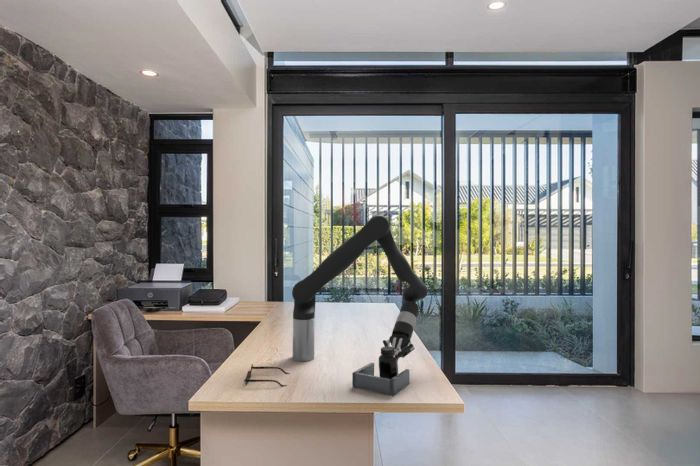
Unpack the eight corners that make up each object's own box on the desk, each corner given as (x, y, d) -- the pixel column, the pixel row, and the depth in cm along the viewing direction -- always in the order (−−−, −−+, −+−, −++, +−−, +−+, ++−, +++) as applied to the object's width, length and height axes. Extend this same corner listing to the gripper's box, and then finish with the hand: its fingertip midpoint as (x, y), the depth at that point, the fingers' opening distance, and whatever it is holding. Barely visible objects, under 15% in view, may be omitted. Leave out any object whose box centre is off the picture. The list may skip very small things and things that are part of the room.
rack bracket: (371, 375, 159) (371, 362, 159) (409, 383, 152) (409, 369, 152) (352, 387, 147) (352, 372, 147) (392, 396, 140) (392, 380, 140)
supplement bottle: (396, 376, 157) (395, 344, 156) (400, 384, 150) (398, 350, 149) (378, 377, 157) (377, 345, 156) (380, 385, 150) (379, 351, 149)
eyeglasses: (250, 374, 161) (251, 361, 161) (290, 374, 162) (290, 361, 162) (244, 388, 146) (244, 374, 146) (287, 388, 147) (287, 373, 147)
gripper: (386, 318, 167) (372, 357, 157) (417, 322, 161) (405, 363, 150) (391, 329, 172) (378, 368, 162) (423, 333, 165) (411, 373, 155)
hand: (391, 365), depth 156 cm, fingers closed
